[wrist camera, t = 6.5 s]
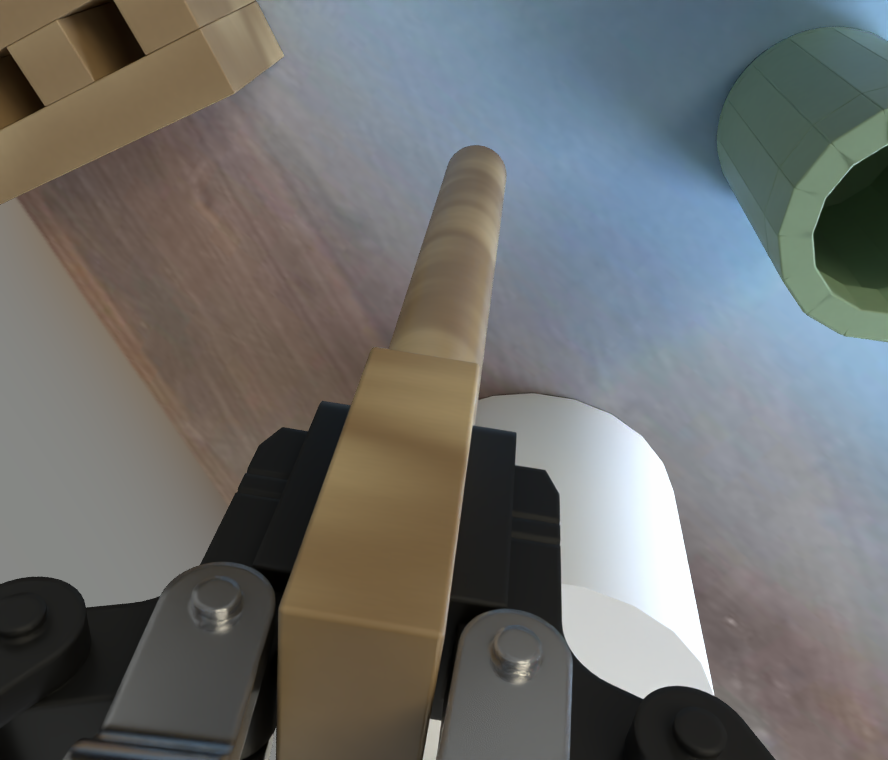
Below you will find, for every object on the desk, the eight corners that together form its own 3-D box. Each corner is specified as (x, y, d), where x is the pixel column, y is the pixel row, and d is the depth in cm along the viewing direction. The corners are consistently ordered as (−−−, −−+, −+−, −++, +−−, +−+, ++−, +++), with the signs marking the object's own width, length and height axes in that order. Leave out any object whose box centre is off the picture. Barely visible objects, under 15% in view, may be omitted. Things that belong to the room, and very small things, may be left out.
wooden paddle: (438, 232, 26) (264, 835, 10) (455, 102, 24) (265, 606, 8) (495, 240, 26) (412, 861, 10) (517, 111, 24) (455, 637, 8)
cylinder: (656, 622, 54) (741, 1219, 30) (393, 603, 55) (279, 1156, 32) (694, 400, 44) (861, 1011, 21) (377, 386, 46) (201, 937, 23)
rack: (-26, 8, 38) (-133, 36, 32) (196, -120, 34) (122, -115, 28) (72, 157, 41) (-7, 208, 35) (284, 56, 37) (235, 93, 31)
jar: (802, -13, 34) (912, 42, 24) (958, 89, 35) (1124, 183, 25) (678, 160, 38) (726, 269, 28) (822, 245, 39) (916, 379, 29)
